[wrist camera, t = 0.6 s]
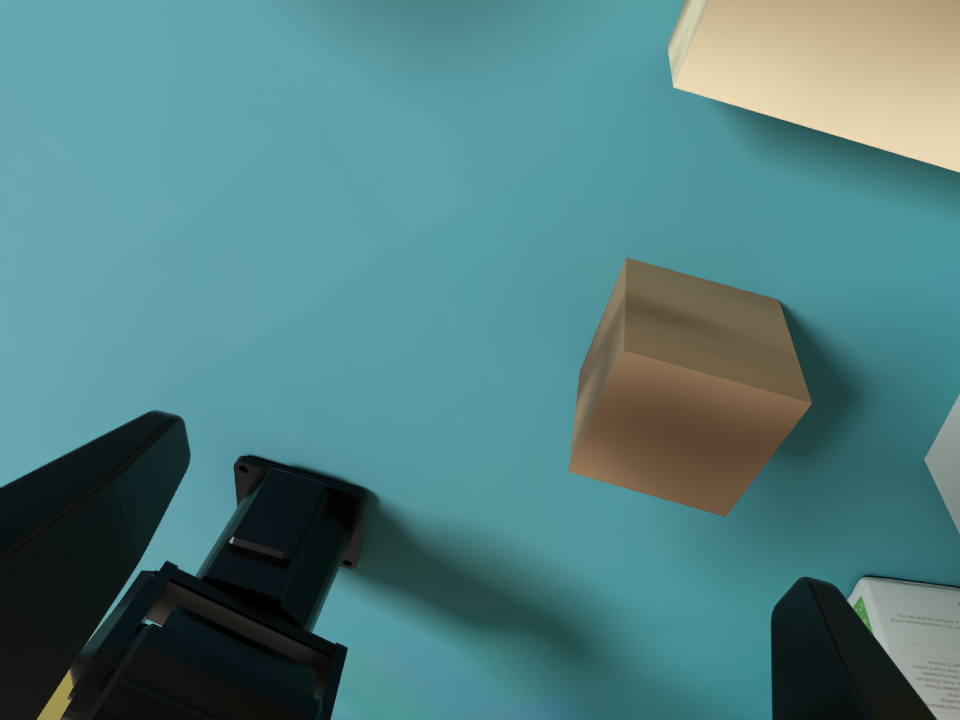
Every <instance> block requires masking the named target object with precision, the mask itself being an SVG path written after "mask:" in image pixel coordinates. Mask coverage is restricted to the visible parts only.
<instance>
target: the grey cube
mask: <svg viewBox="0 0 960 720" xmlns="http://www.w3.org/2000/svg"><path fill="white" fill-rule="evenodd" d="M924 460H925V462H926V464H927V466H928V469H929V471H930V473H931V475H932V477H933V479H934V481H935V483H936V485H937V488H938V490H939V492H940V494H941V496H942V498H943V500H944V502H945V504H946V507H947V509H948V511H949V513H950V515H951V517H952V519H953V521H954V523H955V526H956V528H957V530H958V532H959V534H960V395H959V396H958V398H957V400H956V402H955V404H954V406H953V407H952V409H951V411H950V413H949V415H948V417H947V418H946V420H945V422H944V424H943V426H942V428H941V430H940V431H939V433H938V435H937V437H936V439H935V441H934V442H933V444H932V446H931V448H930V450H929V452H928V454H927V455H926V457H925V459H924Z"/></svg>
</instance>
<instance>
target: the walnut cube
mask: <svg viewBox="0 0 960 720" xmlns="http://www.w3.org/2000/svg"><path fill="white" fill-rule="evenodd" d="M811 404H812V401H811V398H810V395H809V392H808V389H807V386H806V383H805V380H804V376H803V373H802V370H801V367H800V364H799V361H798V358H797V355H796V352H795V348H794V345H793V342H792V339H791V336H790V333H789V330H788V327H787V324H786V320H785V317H784V314H783V311H782V308H781V305H780V302H779V300H777V299H773V298H770V297H766V296H762V295H759V294H755V293H752V292H748V291H744V290H741V289H737V288H734V287H730V286H726V285H723V284H719V283H716V282H712V281H708V280H705V279H701V278H698V277H694V276H690V275H687V274H683V273H680V272H676V271H672V270H669V269H665V268H662V267H658V266H654V265H651V264H647V263H644V262H640V261H636V260H633V259H629V258H626V260H625V262H624V265H623V267H622V270H621V272H620V274H619V277H618V279H617V282H616V284H615V287H614V289H613V292H612V294H611V297H610V299H609V302H608V304H607V306H606V309H605V311H604V314H603V316H602V319H601V321H600V324H599V326H598V329H597V331H596V333H595V336H594V338H593V341H592V343H591V346H590V348H589V351H588V353H587V356H586V358H585V361H584V363H583V365H582V368H581V370H580V375H579V384H578V393H577V402H576V411H575V420H574V428H573V437H572V446H571V455H570V464H569V472H571V473H575V474H578V475H582V476H585V477H589V478H592V479H596V480H599V481H603V482H606V483H610V484H613V485H617V486H620V487H624V488H627V489H631V490H634V491H638V492H641V493H645V494H648V495H652V496H655V497H658V498H662V499H665V500H669V501H672V502H676V503H679V504H683V505H686V506H690V507H693V508H697V509H700V510H704V511H707V512H711V513H714V514H718V515H721V516H726V515H727V514H728V513H729V511H730V510H731V509H732V507H733V506H734V505H735V503H736V502H737V501H738V500H739V498H740V497H741V496H742V494H743V493H744V492H745V490H746V489H747V488H748V487H749V485H750V484H751V483H752V481H753V480H754V479H755V477H756V476H757V475H758V473H759V472H760V471H761V470H762V468H763V467H764V466H765V464H766V463H767V462H768V460H769V459H770V458H771V457H772V455H773V454H774V453H775V451H776V450H777V449H778V447H779V446H780V445H781V443H782V442H783V441H784V440H785V438H786V437H787V436H788V434H789V433H790V432H791V430H792V429H793V428H794V427H795V425H796V424H797V423H798V421H799V420H800V419H801V417H802V416H803V415H804V413H805V412H806V411H807V410H808V408H809V407H810V406H811Z"/></svg>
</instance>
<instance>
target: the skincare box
mask: <svg viewBox="0 0 960 720" xmlns="http://www.w3.org/2000/svg"><path fill="white" fill-rule="evenodd" d="M847 601H848V602H849V603H850V605H851V606H852V607H853V609H854V610H855V611H856V613H857V614H858V615H859V617H860V618H861V619H862V621H863V622H864V623H865V625H866V626H867V627H868V628H869V630H870V631H871V632H872V634H873V635H874V636H875V638H876V639H877V640H878V642H879V643H880V644H881V646H882V647H883V648H884V650H885V651H886V652H887V654H888V655H889V656H890V658H891V659H892V660H893V661H894V663H895V664H896V665H897V667H898V668H899V669H900V671H901V672H902V673H903V675H904V676H905V677H906V679H907V680H908V681H909V683H910V684H911V685H912V687H913V688H914V689H915V691H916V692H917V693H918V695H919V696H920V697H921V698H922V700H923V701H924V702H925V704H926V705H927V706H928V708H929V709H930V710H931V712H932V713H933V714H934V716H935V717H936V718H937V720H960V588H953V587H946V586H940V585H932V584H924V583H916V582H908V581H900V580H892V579H884V578H874V577H863V578H861V579H860V580H859V582H858V583H857V585H856V586H855V588H854V590H853V592H852V594H851V596H850V597H849V598H848V600H847Z"/></svg>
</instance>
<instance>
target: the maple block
mask: <svg viewBox="0 0 960 720" xmlns="http://www.w3.org/2000/svg"><path fill="white" fill-rule="evenodd" d="M668 53H669V60H670V67H671V74H672V81H673V87H674V88H678V89H681V90H684V91H688V92H691V93H694V94H698V95H701V96H705V97H708V98H711V99H715V100H718V101H721V102H725V103H728V104H731V105H735V106H738V107H742V108H745V109H748V110H752V111H755V112H758V113H762V114H765V115H768V116H772V117H775V118H778V119H782V120H785V121H789V122H792V123H795V124H799V125H802V126H805V127H809V128H812V129H815V130H819V131H822V132H826V133H829V134H832V135H836V136H839V137H842V138H846V139H849V140H852V141H856V142H859V143H862V144H866V145H869V146H873V147H876V148H879V149H883V150H886V151H889V152H893V153H896V154H899V155H903V156H906V157H909V158H913V159H916V160H920V161H923V162H926V163H930V164H933V165H936V166H940V167H943V168H946V169H950V170H953V171H957V172H960V0H685V2H684V4H683V7H682V10H681V12H680V15H679V17H678V20H677V23H676V25H675V28H674V30H673V33H672V36H671V38H670V41H669V43H668Z"/></svg>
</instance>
